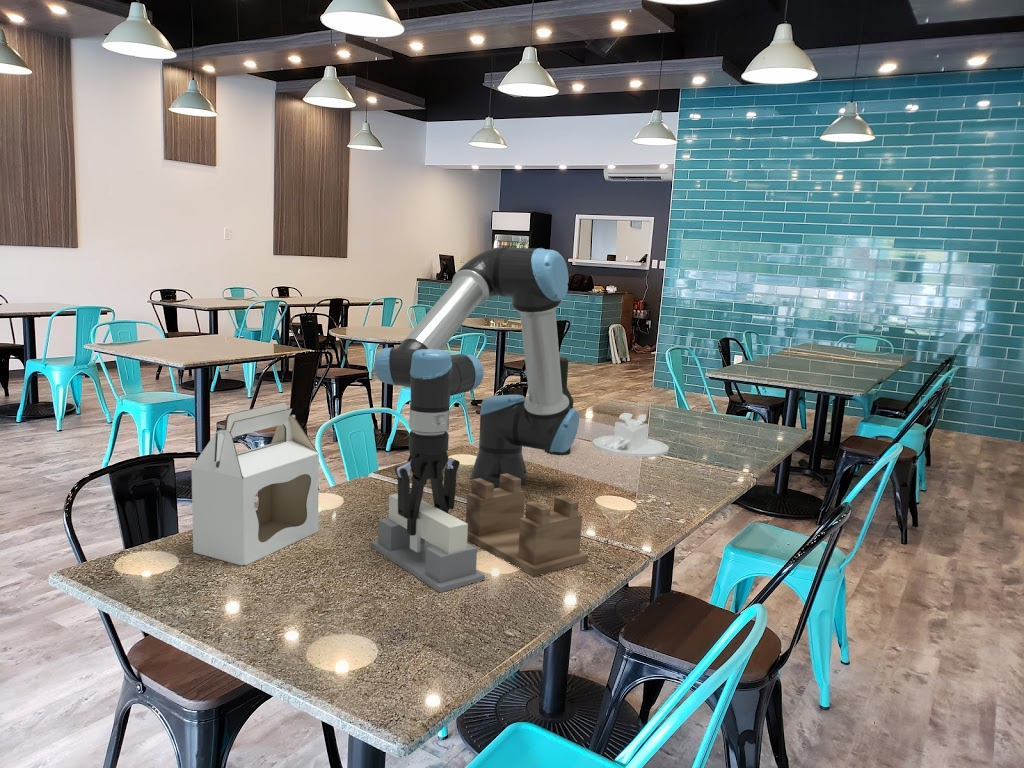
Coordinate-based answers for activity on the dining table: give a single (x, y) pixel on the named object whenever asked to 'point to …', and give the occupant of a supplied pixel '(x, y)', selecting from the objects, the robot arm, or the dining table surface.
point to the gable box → (255, 488)
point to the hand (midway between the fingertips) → (425, 547)
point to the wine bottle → (566, 392)
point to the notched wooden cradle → (524, 527)
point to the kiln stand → (427, 558)
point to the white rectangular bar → (435, 526)
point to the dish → (631, 439)
